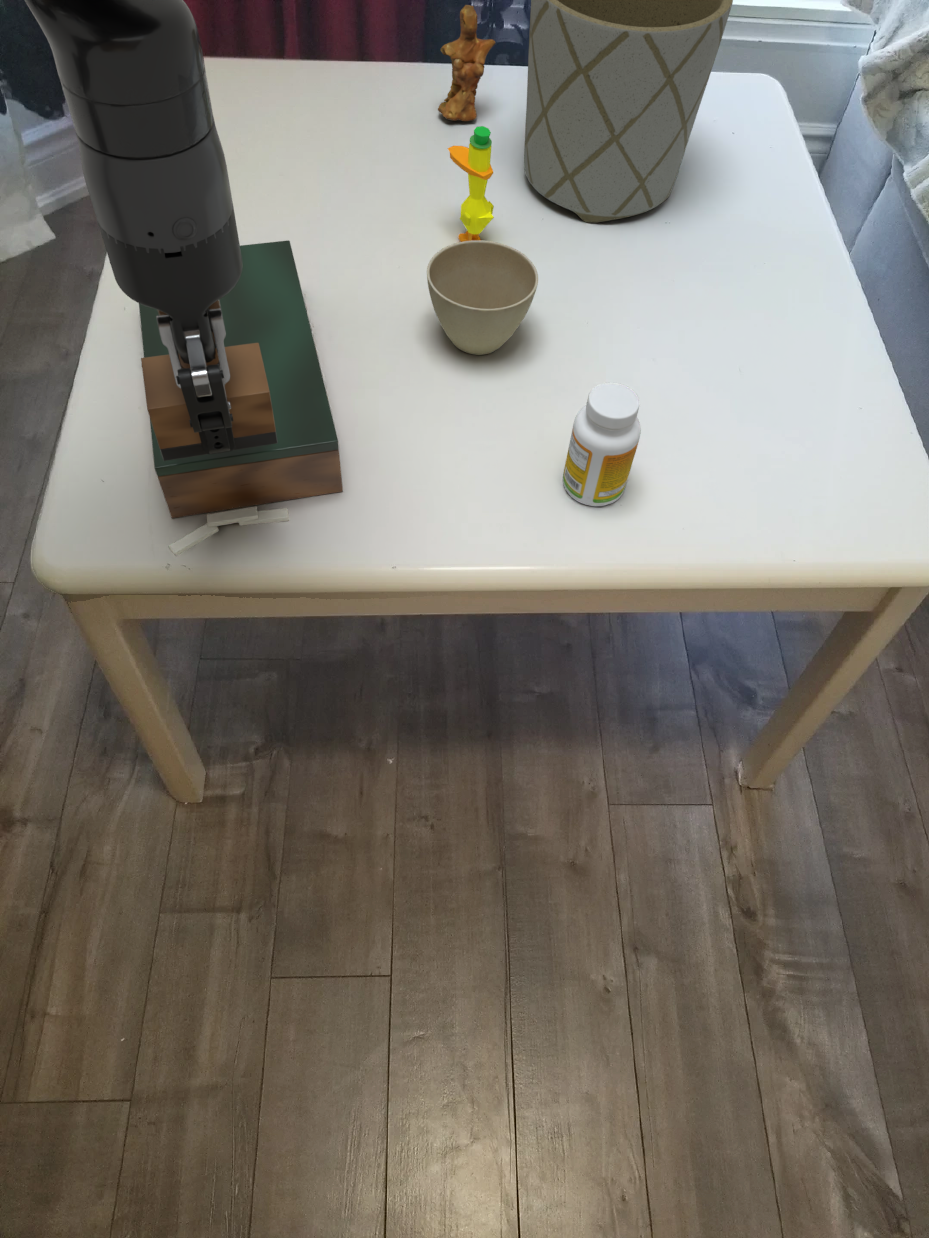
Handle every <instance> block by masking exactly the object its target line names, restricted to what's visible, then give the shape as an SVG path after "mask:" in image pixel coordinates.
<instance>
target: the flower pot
mask: <svg viewBox="0 0 929 1238" xmlns="http://www.w3.org/2000/svg"><path fill="white" fill-rule="evenodd" d="M426 279H427V289H428V292H429V296H430V300H431V304H432V307H433V309H434V313H435V315H436V317H437V320H438V322H439V324H440V326H441V328H442V329H443V331H444V333H445V335H446V336H447V337H448V339H449V340H450V341H451V342H452V344H453V345H454V346H455V347H456V348H457V349H459V351H462V352H464V353H465V354H466V353H467V354H470V355H475V356H482V355H488V354H491V353H494V352H495V351H497V350H499V349H500V348H501V347H502V346H503V345H504V344H505V343H506V342H507V341H508V340H509V339H511V337H512V336H513V335H514V333H515V332H516V330H518V328H519V327H520V325H521V323H523V320H524V319H525V318H526V316H527V314H528V311H529V309H530V307H531V305H532V303H533V302H532V301H533V300H534V297H535V294H536V291H537V288H538V285H539V274H538V271H537V268H536V266H535V265H534V263H533V261H532V260H530V258H529V257H528V256H527V255H525V254H524V253H522V252H521V251H520V250H518V249H516V248H514V247H512V246H510V245H508V244H505V243H501V242H496V241H493V240H482V239H481V240H471V241H463V242H461V241H459V242H456V243H452V244H449V245H447V246H445V247H443V248H441V249H440V250H438V251H437V252H436V253H435V254H434V255H433V256H432V257H431V259H430V260H429V262H428V264H427V267H426Z"/></svg>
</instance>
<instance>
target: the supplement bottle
mask: <svg viewBox="0 0 929 1238" xmlns="http://www.w3.org/2000/svg"><path fill="white" fill-rule="evenodd" d="M640 405H641V404H640V398H639V396H638V394H637V393H636V392H635V391H634V390H633V389H632V388H630V387H628V386H627V385H625V384H622V383H619V382H602V383H599V384H598V385H596V386H594V387H593V388H592V389H591V390H590V392H589V393H588V397H587V401H586V404H585V405H584V406H582V407H581V408H580V409H579V410H578V412H577V413H576V415H575V418H574V420H573V425H572V428H571V436H570V439H569V443H568V449H567V454H566V459H565V464H564V467H563V474H562V483H563V488H564V489H565V491H566V493H567V494H568V495H569V496H570V498H572V499H573V500H575V501H576V502H578V503H580V504H582V505H586V506H590V507H603V506H607V505H610V504H613V503H615V502H617V501H618V500H619V499H620V498H621V497H622V496H623V494H624V491H625V490H626V489H625V488H626V486H627V482H628V479H629V476H630V472H631V470H632V466H633V462H634V460H635V459H634V458H635V456H636V453H637V449H638V446H639V442H640V439H641V433H642V432H641V431H642V428H641V427H642V425H641V423H640V420H639V418H638V414H639V409H640Z"/></svg>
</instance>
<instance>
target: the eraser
mask: <svg viewBox="0 0 929 1238" xmlns="http://www.w3.org/2000/svg"><path fill="white" fill-rule="evenodd" d="M215 351H216V355H215V358H216V359H213V360H212V361H211V362H207V363H206V365H215V364H218V362H219V358H218V353H217V349H216V348H215ZM225 352H226V357H227V362H228V367H229V372H230V380H229V381H228V382H227V383H226V384H225V391H226V396H227V401H228V402H229V401H230V404H231V409H229V411H230V414H232V416H233V422H232V421H231V422H232V431H233V436H234V441H235V449H234V450H238V449H245V448H251V447H258V446H264V445H271V444H277V443H278V441H277V435H276V428H275V422H274V416H273V409H272V403H271V397H270V391H269V386H268V382H267V378H266V373H265V369H264V364H263V360H262V355H261V351H260V347H259V343H252V344H244V345H237V346H229V347H225ZM178 354H179V353H178ZM179 358H180V362H181V365H182V367H183V368H190V364H187V363H184V361H183V360H182V359H181V357H180V354H179ZM140 361H141V363H140V364H141V369H142V377H143V384H144V386H143V387H144V393H145V395H144V396H145V402H146V409H147V413H148V415H149V416H148V417H149V420H150V419H151V423H152V426H153V429H154V432H155V435H156V438H157V441H158V445H159V448H160V451H161V454H162V457H163V460H164V461H167V460H174V459H180V458H186V457H193V456H199V455H206V453H205V452H204V451H203V447H202V444H201V440H200V436H199V432H196V433H194V430H193V427H192V428H191V426H190V422H189V420H190V416H189V413H188V410H187V406H186V403H185V399H184V396H183V393H182V389H181V388H179V387H178V386H177V384H176V381H175V377H174V373H173V369H172V364H171V360H170V356H169V355H161V356H154V357H146V358H144V357H141V358H140Z"/></svg>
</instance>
